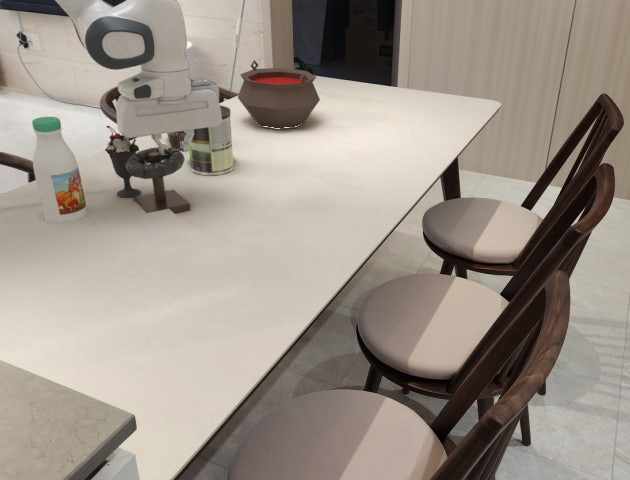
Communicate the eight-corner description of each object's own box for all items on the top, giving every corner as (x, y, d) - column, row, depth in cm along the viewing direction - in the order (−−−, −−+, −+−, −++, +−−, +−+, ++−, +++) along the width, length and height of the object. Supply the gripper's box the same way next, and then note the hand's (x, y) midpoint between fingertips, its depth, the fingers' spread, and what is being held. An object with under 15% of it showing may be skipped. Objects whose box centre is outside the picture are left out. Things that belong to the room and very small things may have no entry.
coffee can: (189, 176, 148) (183, 116, 141) (191, 161, 157) (185, 104, 150) (234, 175, 150) (230, 115, 143) (233, 160, 159) (230, 103, 152)
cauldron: (336, 124, 190) (337, 67, 182) (275, 139, 175) (273, 79, 166) (283, 107, 204) (281, 54, 196) (222, 121, 188) (217, 63, 180)
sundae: (106, 193, 137) (94, 124, 130) (134, 185, 142) (124, 118, 134) (122, 202, 134) (111, 132, 126) (150, 193, 138) (141, 125, 131)
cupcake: (197, 138, 173) (193, 101, 168) (211, 148, 166) (207, 110, 161) (162, 143, 168) (157, 105, 163) (175, 153, 161) (170, 114, 156)
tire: (138, 186, 122) (134, 172, 120) (121, 167, 130) (117, 154, 128) (193, 170, 127) (190, 156, 125) (173, 153, 135) (170, 140, 133)
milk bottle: (45, 230, 120) (21, 126, 110) (45, 215, 126) (22, 115, 116) (89, 225, 123) (69, 123, 113) (87, 210, 129) (68, 112, 119)
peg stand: (147, 219, 127) (139, 164, 121) (132, 203, 133) (124, 150, 127) (190, 210, 131) (184, 156, 126) (174, 195, 138) (168, 144, 132)
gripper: (211, 74, 130) (216, 141, 136) (108, 84, 119) (119, 155, 126) (224, 81, 125) (229, 149, 132) (118, 91, 114) (130, 165, 121)
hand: (175, 152), depth 129 cm, fingers open, 3 cm apart
